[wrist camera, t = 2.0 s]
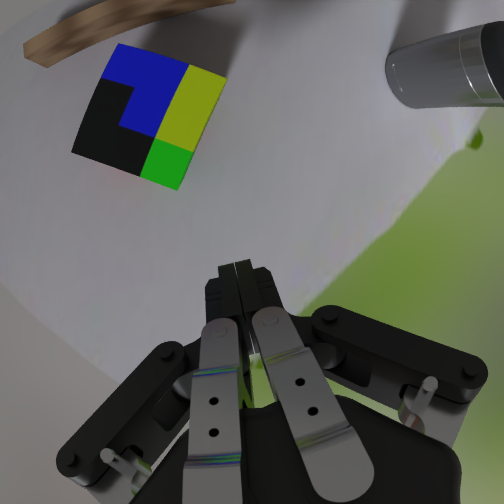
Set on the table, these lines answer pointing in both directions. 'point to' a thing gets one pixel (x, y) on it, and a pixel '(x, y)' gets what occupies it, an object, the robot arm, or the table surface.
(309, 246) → the table surface
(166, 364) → the robot arm
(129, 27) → the board
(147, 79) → the puzzle toy
